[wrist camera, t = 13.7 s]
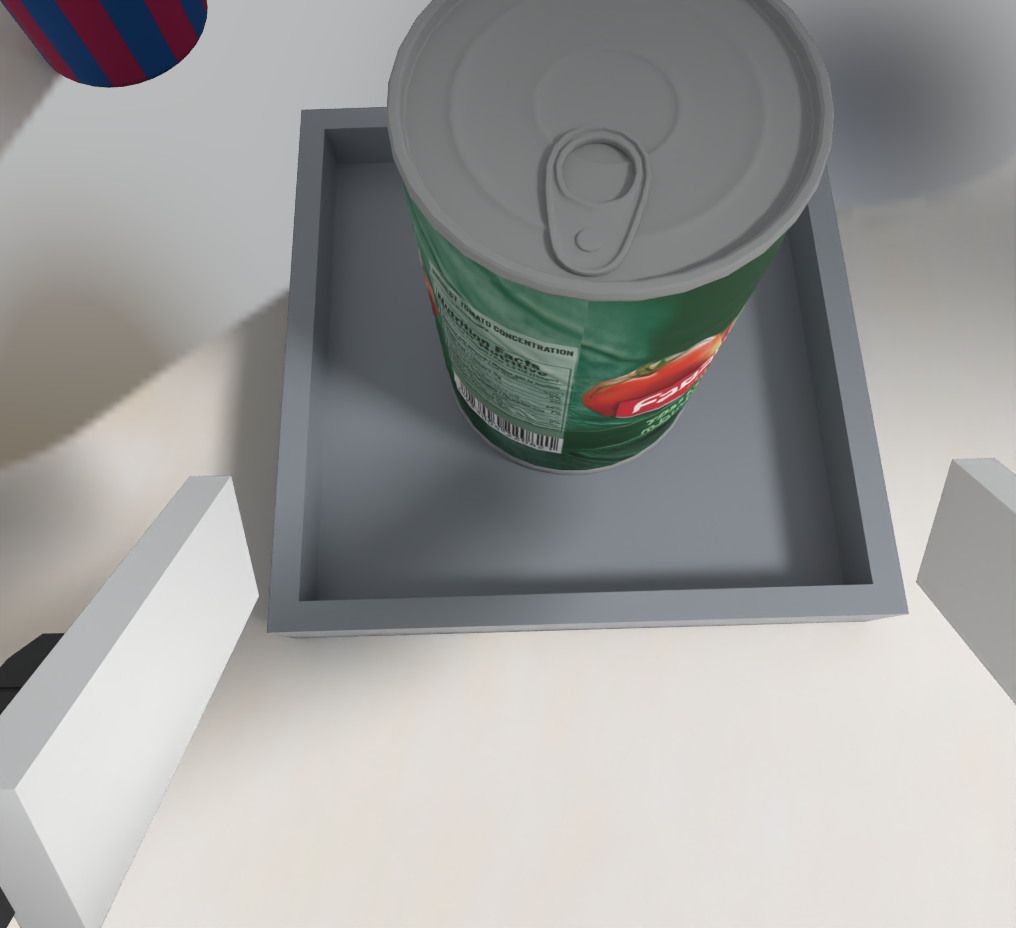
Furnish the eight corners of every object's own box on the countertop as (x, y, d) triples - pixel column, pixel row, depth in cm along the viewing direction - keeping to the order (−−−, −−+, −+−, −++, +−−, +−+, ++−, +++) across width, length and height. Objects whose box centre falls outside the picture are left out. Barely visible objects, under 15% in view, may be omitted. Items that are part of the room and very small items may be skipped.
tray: (786, 145, 26) (813, 92, 24) (865, 621, 22) (908, 613, 19) (321, 161, 27) (301, 109, 24) (294, 637, 22) (266, 632, 19)
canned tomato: (468, 238, 25) (427, -93, 14) (701, 265, 24) (840, -56, 14) (427, 460, 22) (342, 263, 12) (683, 494, 22) (832, 321, 11)
